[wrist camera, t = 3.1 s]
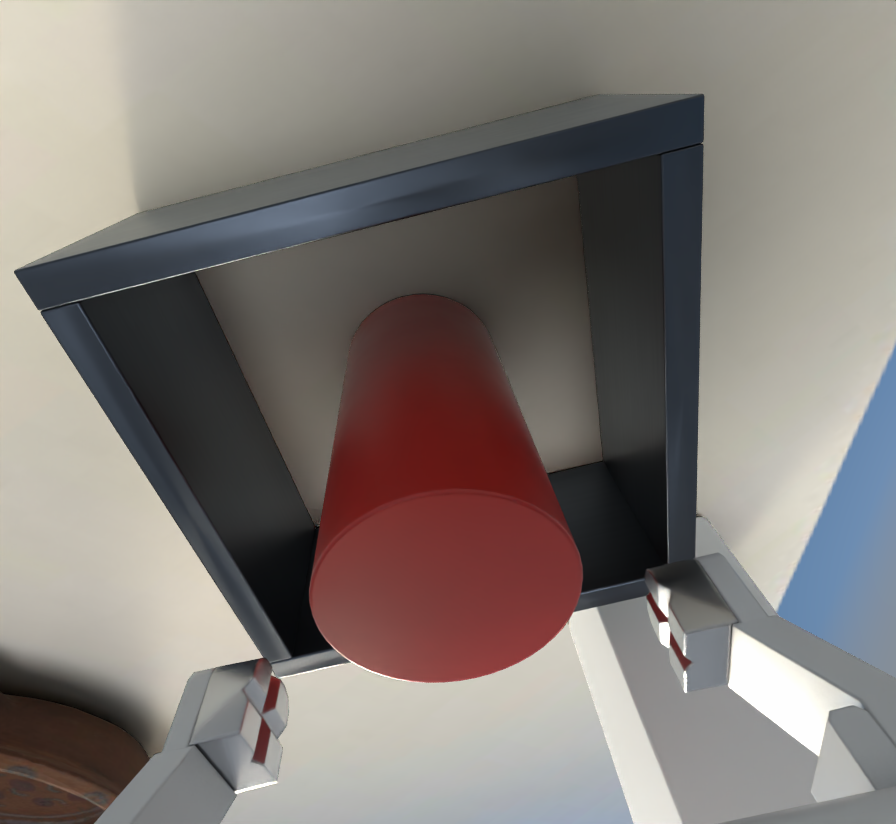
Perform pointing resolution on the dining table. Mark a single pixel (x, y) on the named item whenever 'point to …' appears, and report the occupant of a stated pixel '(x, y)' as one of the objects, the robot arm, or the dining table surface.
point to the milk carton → (684, 722)
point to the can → (437, 507)
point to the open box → (366, 205)
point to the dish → (61, 763)
